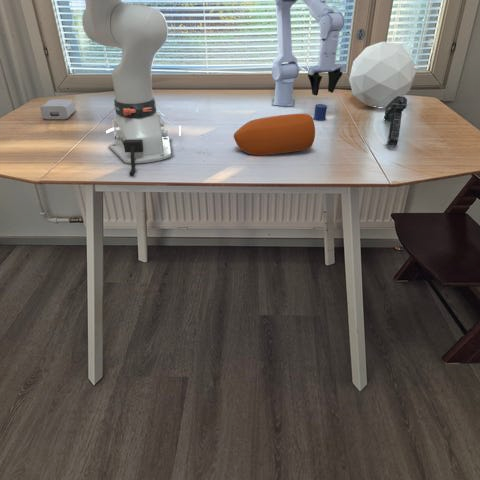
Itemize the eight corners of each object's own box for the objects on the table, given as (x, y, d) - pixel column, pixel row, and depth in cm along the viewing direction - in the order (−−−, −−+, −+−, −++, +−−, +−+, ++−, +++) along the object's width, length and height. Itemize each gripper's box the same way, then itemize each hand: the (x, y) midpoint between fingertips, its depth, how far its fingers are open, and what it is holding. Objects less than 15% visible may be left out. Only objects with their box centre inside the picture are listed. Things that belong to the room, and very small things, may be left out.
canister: (327, 119, 152) (329, 106, 149) (318, 121, 150) (320, 108, 148) (320, 116, 155) (321, 103, 152) (311, 118, 153) (313, 105, 150)
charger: (80, 107, 160) (68, 119, 148) (56, 106, 160) (42, 119, 148) (77, 94, 158) (65, 106, 145) (53, 94, 157) (39, 106, 145)
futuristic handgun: (389, 146, 153) (397, 104, 149) (399, 145, 125) (409, 94, 122) (379, 144, 154) (386, 103, 150) (386, 144, 126) (395, 93, 122)
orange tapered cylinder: (237, 164, 122) (319, 153, 123) (234, 130, 116) (319, 118, 117) (233, 149, 132) (309, 139, 133) (230, 116, 126) (309, 106, 127)
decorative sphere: (334, 74, 174) (357, 27, 150) (388, 72, 178) (419, 26, 154) (346, 121, 167) (373, 80, 143) (402, 118, 171) (437, 78, 147)
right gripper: (319, 56, 134) (314, 98, 141) (351, 52, 140) (345, 93, 148) (305, 53, 139) (301, 93, 146) (337, 49, 145) (332, 88, 153)
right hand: (322, 93), depth 147 cm, fingers open, 7 cm apart
